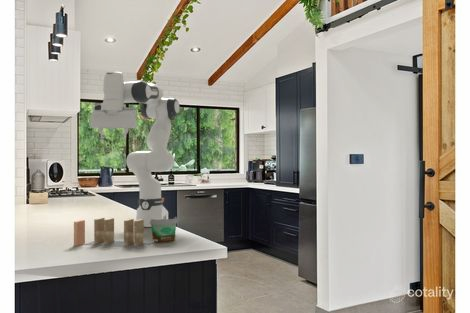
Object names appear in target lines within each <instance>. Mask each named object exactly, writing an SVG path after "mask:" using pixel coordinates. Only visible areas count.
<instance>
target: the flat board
mask: <svg viewBox="0 0 470 313" xmlns="http://www.w3.org/2000/svg"><path fill="white" fill-rule="evenodd" d="M152 244H154V242H145V241H144V244H142V245H140V246H134V243H133V244H131V245H128V246H124V240H114V242H113V243H111V244H108V245H106V244H104V242H102V243H99V244H94V241H90V242H88V243H85V244H83V245H84V246H97V247H113V248H117V247H118V248H130V249H131V248H132V249H144V248H147V247H148V246H150V245H152Z"/></svg>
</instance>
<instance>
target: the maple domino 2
mask: <svg viewBox="0 0 470 313" xmlns="http://www.w3.org/2000/svg"><path fill="white" fill-rule="evenodd" d="M114 241H115V218H114V217H109V218H106V219H105V220H104V244H106V245H108V244H111V243H113V242H114Z"/></svg>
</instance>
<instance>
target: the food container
mask: <svg viewBox="0 0 470 313" xmlns="http://www.w3.org/2000/svg"><path fill="white" fill-rule="evenodd" d="M178 223H179V221H178V218H177V216H174V218H168V219H161V220H154V219H151V221H150V224H151V226H152V227H151V233H152V235H151V236H152V243H157V244H158V243H159V244H163V243H164V244H165V243H172V242H174V241H175V240H176V232H177V231H176V229H177V224H178Z"/></svg>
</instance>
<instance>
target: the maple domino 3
mask: <svg viewBox="0 0 470 313" xmlns="http://www.w3.org/2000/svg"><path fill="white" fill-rule="evenodd" d="M134 221H135V220H134V218H128V219H125V220H123V241H124V246H128V245H131V244H133V243H134Z"/></svg>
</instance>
